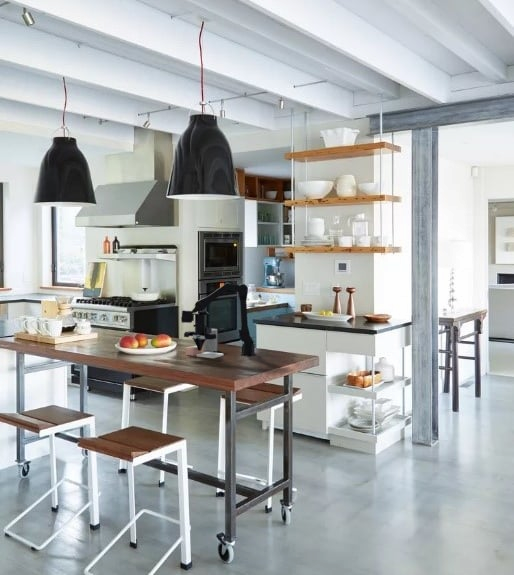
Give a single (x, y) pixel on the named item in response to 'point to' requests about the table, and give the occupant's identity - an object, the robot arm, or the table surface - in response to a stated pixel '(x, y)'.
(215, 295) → the robot arm
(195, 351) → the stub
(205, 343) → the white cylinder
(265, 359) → the table surface
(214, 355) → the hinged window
